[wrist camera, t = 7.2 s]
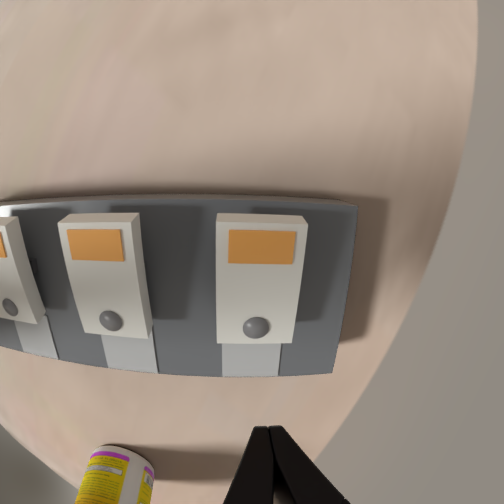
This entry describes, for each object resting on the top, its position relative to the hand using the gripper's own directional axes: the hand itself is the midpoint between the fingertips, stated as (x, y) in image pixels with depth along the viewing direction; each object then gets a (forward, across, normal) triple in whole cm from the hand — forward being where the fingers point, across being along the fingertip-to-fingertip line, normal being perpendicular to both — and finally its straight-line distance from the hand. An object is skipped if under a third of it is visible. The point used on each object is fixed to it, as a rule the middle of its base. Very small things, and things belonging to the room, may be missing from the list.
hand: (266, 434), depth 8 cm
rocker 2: (+6, 0, -2) cm, 7 cm away
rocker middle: (+6, +7, -2) cm, 10 cm away
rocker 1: (+6, +14, -2) cm, 16 cm away
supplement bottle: (+11, +12, +20) cm, 25 cm away
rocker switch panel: (+11, +7, -1) cm, 13 cm away
